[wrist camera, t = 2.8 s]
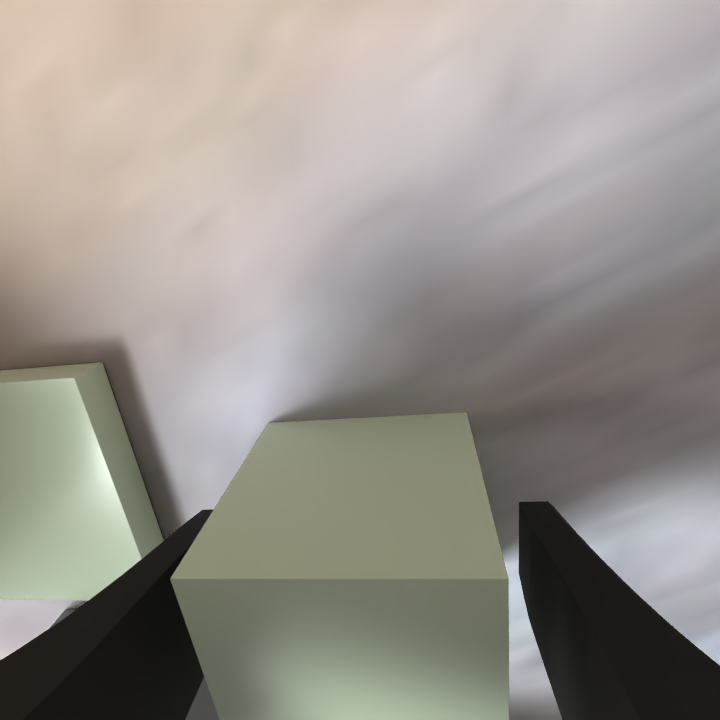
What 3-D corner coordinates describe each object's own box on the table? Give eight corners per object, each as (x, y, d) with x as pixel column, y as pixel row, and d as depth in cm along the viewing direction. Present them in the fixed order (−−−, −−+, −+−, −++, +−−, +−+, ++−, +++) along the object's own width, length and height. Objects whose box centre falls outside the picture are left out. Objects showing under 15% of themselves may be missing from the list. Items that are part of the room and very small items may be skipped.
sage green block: (472, 568, 12) (509, 795, 8) (301, 569, 13) (239, 777, 8) (466, 410, 11) (508, 579, 6) (269, 420, 11) (169, 578, 7)
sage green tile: (174, 573, 14) (157, 601, 13) (-20, 573, 15) (-50, 599, 14) (101, 362, 11) (73, 377, 10) (-125, 380, 12) (-170, 395, 11)
